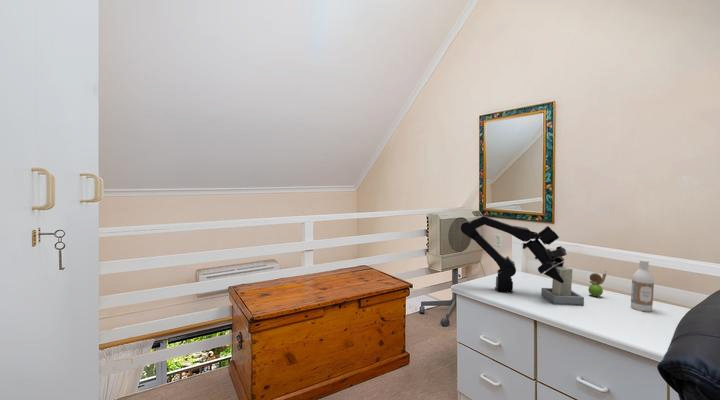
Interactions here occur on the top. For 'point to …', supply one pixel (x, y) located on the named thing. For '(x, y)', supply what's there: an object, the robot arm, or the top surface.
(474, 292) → the top surface
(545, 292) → the box
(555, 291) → the skincare box
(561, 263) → the robot arm
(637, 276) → the bath foam
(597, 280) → the snail figurine
